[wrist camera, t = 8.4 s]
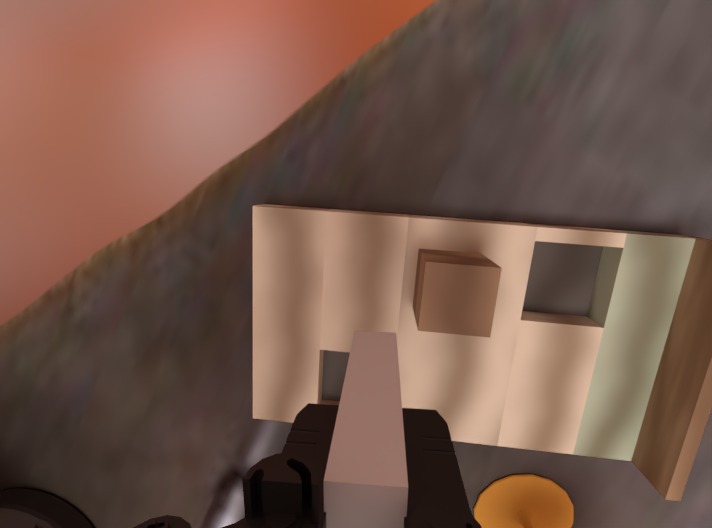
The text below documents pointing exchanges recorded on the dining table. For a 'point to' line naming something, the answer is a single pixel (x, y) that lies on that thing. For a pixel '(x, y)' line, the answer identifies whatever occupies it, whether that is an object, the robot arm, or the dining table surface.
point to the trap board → (498, 331)
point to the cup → (524, 504)
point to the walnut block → (455, 292)
